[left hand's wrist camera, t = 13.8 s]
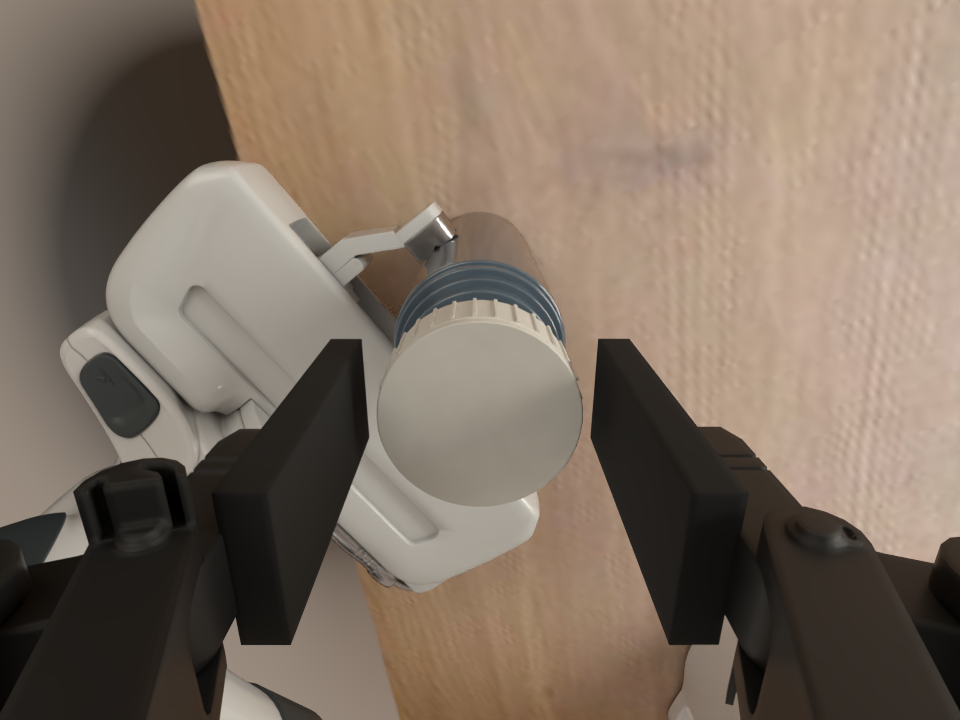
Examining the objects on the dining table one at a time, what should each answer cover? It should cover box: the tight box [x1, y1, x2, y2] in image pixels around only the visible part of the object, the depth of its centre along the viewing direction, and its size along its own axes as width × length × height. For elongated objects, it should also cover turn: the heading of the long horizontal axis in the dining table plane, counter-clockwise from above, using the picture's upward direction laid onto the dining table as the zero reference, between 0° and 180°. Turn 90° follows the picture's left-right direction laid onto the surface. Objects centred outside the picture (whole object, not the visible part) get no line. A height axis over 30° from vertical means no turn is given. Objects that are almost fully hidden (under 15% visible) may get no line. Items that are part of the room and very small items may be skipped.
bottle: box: [394, 212, 565, 348], centre depth 21 cm, size 5×5×17 cm
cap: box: [377, 298, 583, 507], centre depth 13 cm, size 5×5×2 cm
